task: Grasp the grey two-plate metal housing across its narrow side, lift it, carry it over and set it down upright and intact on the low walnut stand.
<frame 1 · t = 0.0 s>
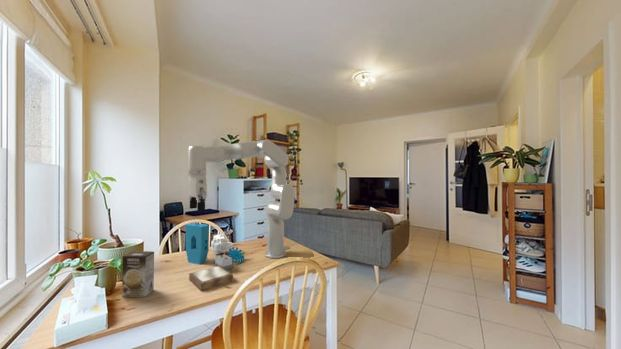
hand: (197, 209, 118), 31 cm above the table, fingers open, 9 cm apart
mechanical part: (222, 253, 151), on the table
block: (197, 262, 137), on the table
coffee box: (138, 293, 102), on the table
stand: (211, 280, 114), on the table
housing: (223, 269, 127), on the table
gear: (236, 262, 138), on the table
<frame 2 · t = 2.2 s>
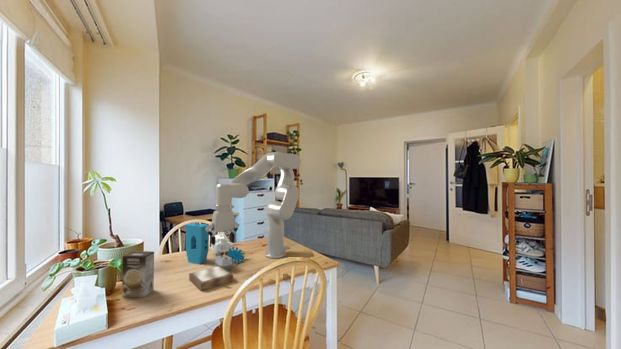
hand: (222, 242, 127), 13 cm above the table, fingers open, 9 cm apart
nothing on the table moved.
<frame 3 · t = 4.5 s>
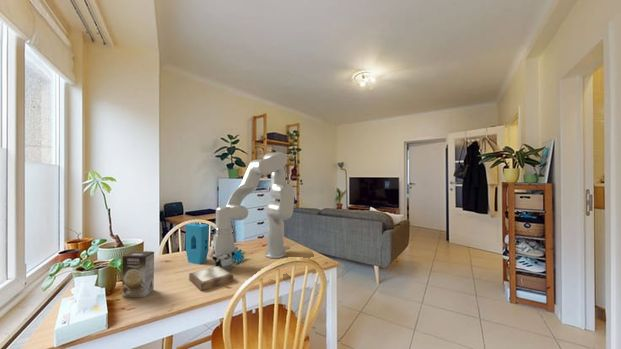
hand: (223, 267, 127), 1 cm above the table, fingers closed on housing, 5 cm apart
housing: (223, 269, 127), on the table, touching gripper
everything else where it was.
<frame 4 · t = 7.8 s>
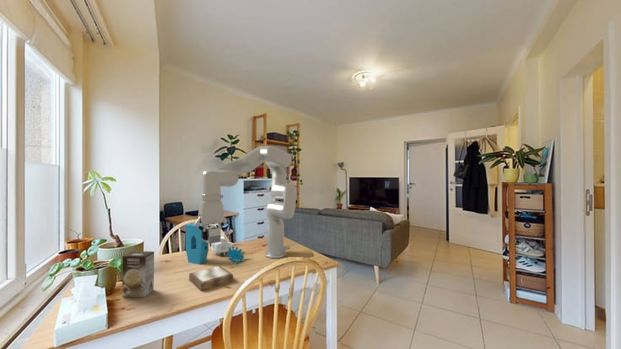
hand: (211, 238, 114), 19 cm above the table, fingers closed on housing, 5 cm apart
housing: (211, 240, 114), point 18 cm above the table, touching gripper
everything else where it was.
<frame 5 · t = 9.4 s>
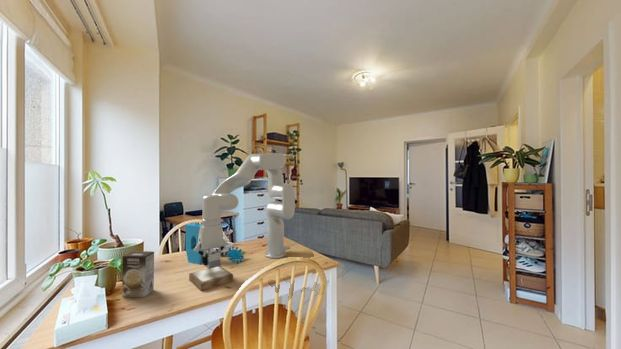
hand: (211, 262, 114), 8 cm above the table, fingers closed on housing, 5 cm apart
housing: (210, 264, 114), point 7 cm above the table, touching gripper
when the fingers open (5 cm above the table, at t = 10.9 s): housing stays where it is, resting on stand.
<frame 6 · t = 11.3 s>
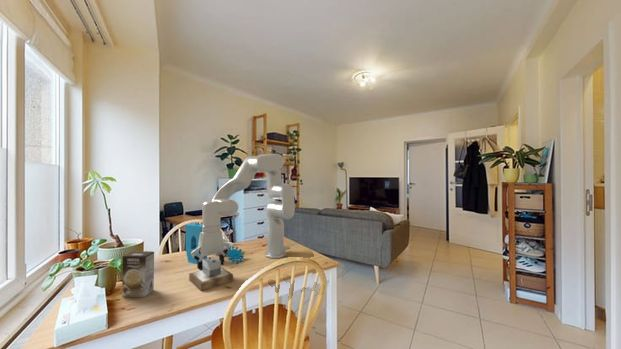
hand: (211, 266, 114), 6 cm above the table, fingers open, 9 cm apart
housing: (211, 273, 114), point 3 cm above the table, touching stand
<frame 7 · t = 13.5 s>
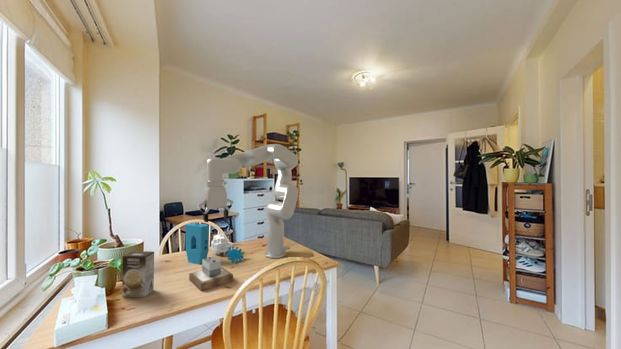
hand: (216, 220, 121), 26 cm above the table, fingers open, 9 cm apart
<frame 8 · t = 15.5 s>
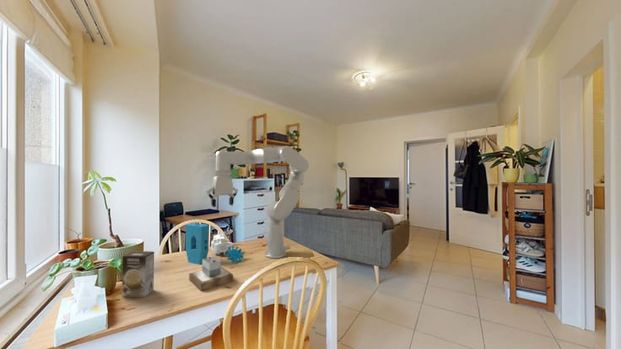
hand: (222, 205, 137), 30 cm above the table, fingers open, 9 cm apart
at the end: housing inside the target area on the stand (0.2 cm from its centre), point 3.3 cm above the stand's base; housing tilted 0°; the gripper is holding nothing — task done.
